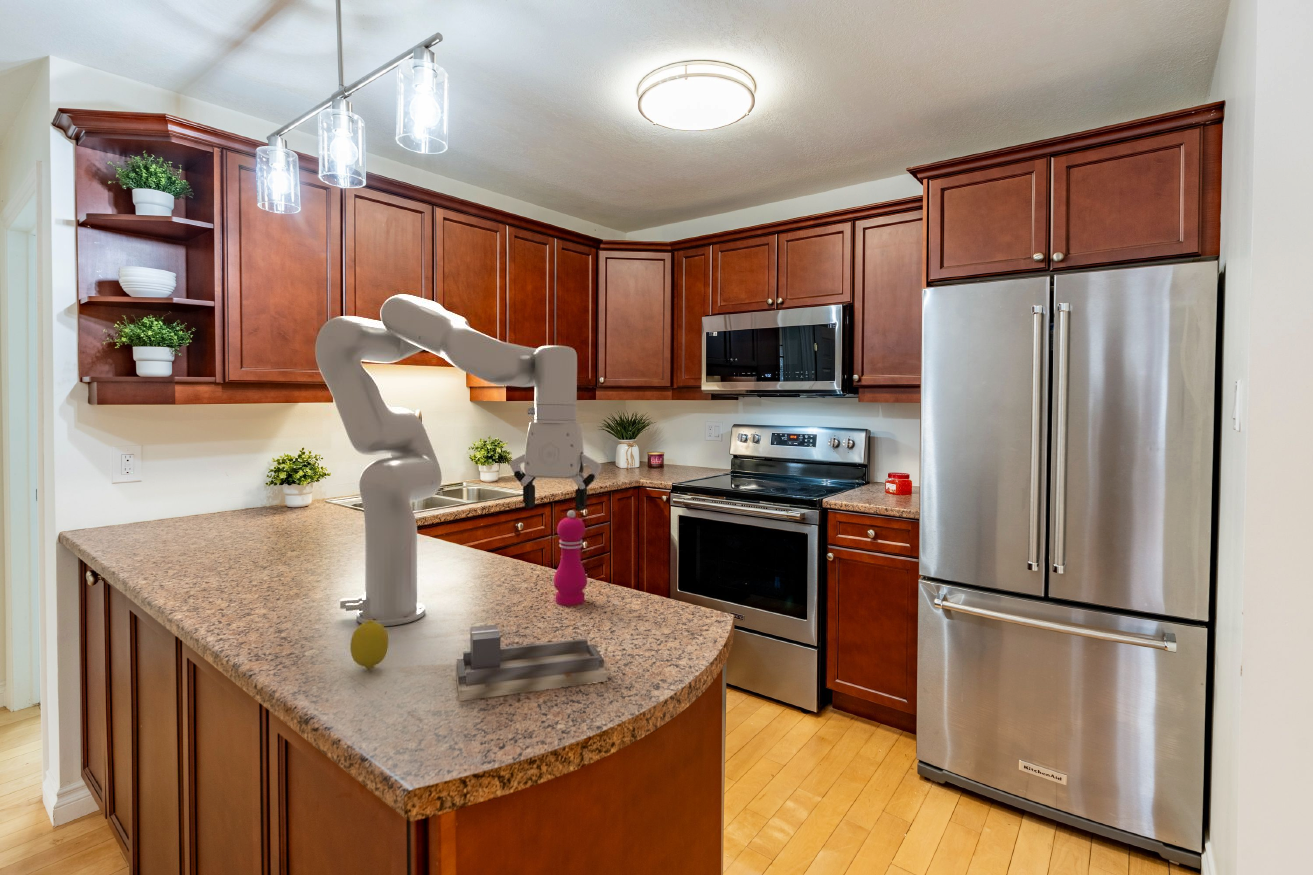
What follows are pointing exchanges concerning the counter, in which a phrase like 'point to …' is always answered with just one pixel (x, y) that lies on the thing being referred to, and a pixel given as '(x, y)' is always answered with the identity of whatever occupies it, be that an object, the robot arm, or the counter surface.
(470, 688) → the fader board
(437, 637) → the counter surface
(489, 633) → the fader knob
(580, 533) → the pepper mill
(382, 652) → the lemon
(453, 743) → the counter surface
